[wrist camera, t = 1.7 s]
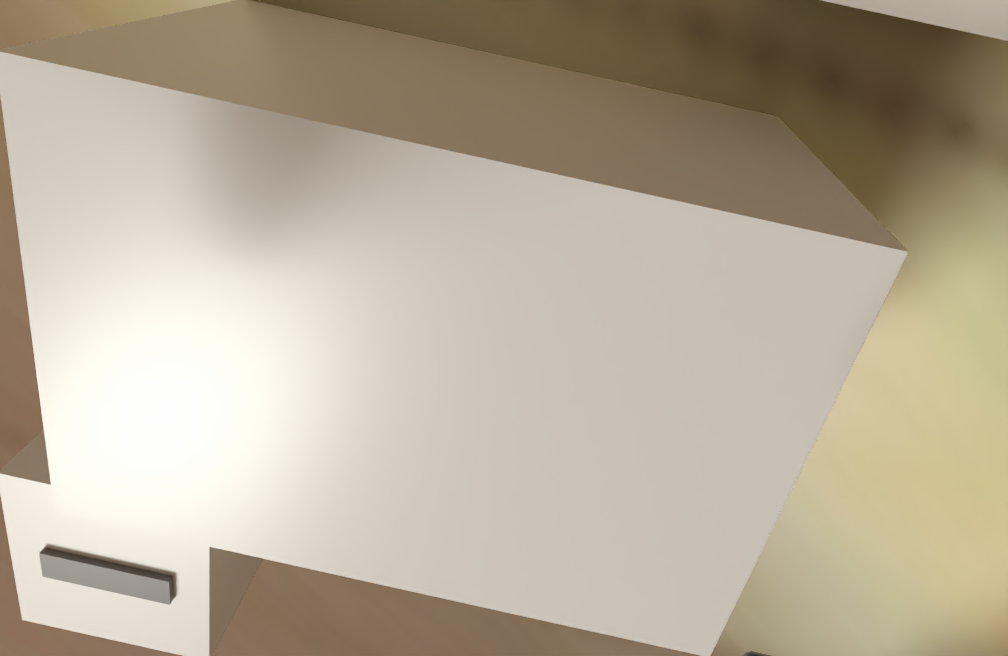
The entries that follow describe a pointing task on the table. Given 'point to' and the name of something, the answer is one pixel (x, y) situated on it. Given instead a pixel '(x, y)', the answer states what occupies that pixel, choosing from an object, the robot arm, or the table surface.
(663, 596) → the plain grey block
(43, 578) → the striped block one
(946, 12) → the white marked cube
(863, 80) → the table surface
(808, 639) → the table surface
